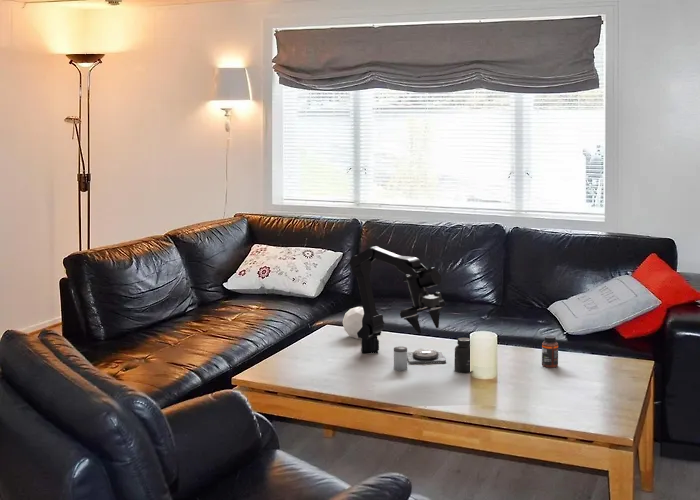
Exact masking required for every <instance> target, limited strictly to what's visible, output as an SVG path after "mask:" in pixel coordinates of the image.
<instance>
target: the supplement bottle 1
mask: <svg viewBox="0 0 700 500" xmlns="http://www.w3.org/2000/svg"><path fill="white" fill-rule="evenodd" d="M470 339H471V338H468V337H459V338H457V342H456V343H457V345H456V346H455V347H454V367H453V368H454V369H453V370H454V371H455V372H457V373H459V374H460V373H461V374H467V373H471V372H470V346H471V345H470Z"/></svg>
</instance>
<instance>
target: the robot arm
mask: <svg viewBox="0 0 700 500" xmlns="http://www.w3.org/2000/svg"><path fill="white" fill-rule="evenodd" d="M375 260H378V261H381V262H383V263H386V264H389V265H391V266H394V267H395V268H396V269H397V270H398V271H399V272H401V273H402V274H404V277H403V278H402V280H401V281H402V282H403V283H404V282H407V285H408V289H409V290H408V291H409V292H410V295H408V298H409V299H411V301H412V303H413V304H412V305H411V307H409V308H405V309H402V310H400V312H399V316H400V319H403V320H406V321H407V322H408V323H409V324H410V325H411V326H412V327H413V329H414V330H415V331H416V332H417V333H418V335H420V334H422V330H421V326H420V322H419V317H420V314H418V313H421V312H422V311H426V310H428V314H429V315H430V318H431V321H432V323H433V324H434V327H435V328H436V329H439V328H440V327H439V326H440V316H441V311H442V310H443V309H444V307H446V302H445V300H444V299H443V297H442V294H441V292H440V291H436V292H434V293H433V294H430V293H429V290H426V289H427V288H428V289H429V288H432V287H435V286H438V285H440V284H441V283H442V276H441V274H440V273H439V271H438V270H436V267H435V266H434V267H430V268H427V267H426V266H425V265H424V263H422V262H421V261H420V259H419V258H418V257H415V256H410V255H409V256H408V255H407V256H406V255H400V254H396V253H395V252H391V251H390V250H386V249H384V248H381V247H379V246H378V245H375V246H370V247H368V248H367V249H366V250H365V249H364V251H362V252H360V253H357V254H356V255H353V256H351V257H350V259H349V266H350V269H351V272H352V273H353V275H354V276H355V278H356V280H357V283H358V289H359V295H360V298H361V304H362V305H361V306H362V307H363V310H364V315H363V319H362V328H361V329H360V330H359V331H358V332H357V335H358V339H361V340H360V341H361V346H360V347H361V348H360V351H361V354H364V355H365V354H367V355H368V354H378V353H379V351H380V340H379V338H378V337H379V336H381V335H382V331H383V330H384V328H385V321H384V316H383V314H380V313H379V312H378V311H377V307H376V304H375V303H376V302H375V299H374V298H375V297H374V293H373V287H372V282H371V278H370V274H371V271H372V262H374V261H375Z"/></svg>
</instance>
